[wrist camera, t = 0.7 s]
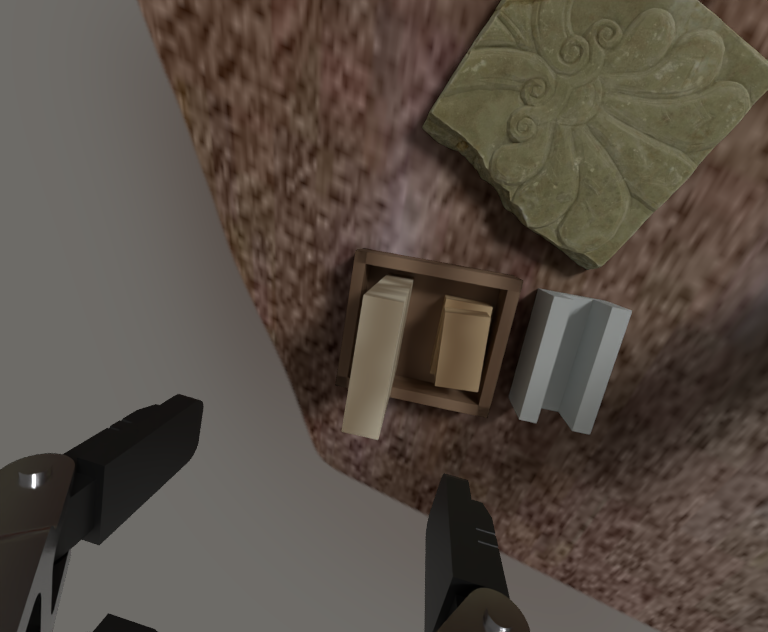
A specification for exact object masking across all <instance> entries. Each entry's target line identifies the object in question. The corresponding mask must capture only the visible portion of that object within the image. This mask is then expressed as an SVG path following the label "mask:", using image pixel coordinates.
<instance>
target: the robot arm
mask: <svg viewBox="0 0 768 632" xmlns="http://www.w3.org/2000/svg"><path fill="white" fill-rule="evenodd" d="M202 413H203V402H202V401H201V400H197V399H194V398H191V397H187V396H184V395H181V394H177V395H175V396H173V397H172V398H170V399H169V400H167V401H165V402H164V403H162V404H161V405H156V404H155V405H152V406H149V407H146V408H142V409H139V410H136V411H135V412H133V413H131V414H130V415H128V416H126V417H125V418H123V419H122V421H118V422H116V423H115V424H113V425H111V426H110V428H106V429H105V430H103V431H101V432H99V433H98V434H96V435H95V436H93V437H91V438H90V439H88V440H86V441H84V442H83V443H81V444H79V445H78V446H76V447H74V448H73V449H71V450H69V451H68V452H66V453H64V454H57V453H44V454H36V455H32V456H28V457H24V458H21V459H19V460H16V461H14V462H12V463H10V464H8V465H6V466H5V467H3V468H2V469H0V632H53V628H54V623H55V619H56V615H57V611H58V607H59V602H60V598H61V594H62V590H63V586H64V582H65V578H66V574H67V569H68V565H69V561H70V556H71V548H72V547H73V546H75V545H76V544H77V543H78V542H79V541H80V540H81V539H82V540H85V541H88V542H91V543H94V544H97V545H100V544H101V543H102V542H103V541H104V540H105V539H106V538H108V537H109V536H110V535H111V534H112V533H113V532H114V531H115V530H116V529H117V528H118V527H119V526H120V525H121V524H123V523H124V522H125V521H126V520H127V519H128V518H129V517H130V516H131V515H132V514H133V513H134V512H135V511H136V510H137V509H138V508H140V507H141V506H142V505H143V504H144V503H145V502H146V501H147V500H148V499H149V498H150V497H151V496H152V495H153V494H155V493H156V492H157V491H158V490H159V489H160V488H161V487H162V486H163V485H164V484H165V483H166V482H167V481H168V480H169V479H171V478H172V477H173V476H174V475H175V474H176V473H177V472H178V471H179V470H180V469H181V468H182V467H183V466H184V465H185V464H187V462H188V461H189V460H190V459H191V458H192V456H193V455H194V453H195V450H196V449H197V446H198V441H199V434H200V428H201V421H202ZM425 558H426V559H425V632H530V629H529V626H528V623H527V621H526V619H525V617H524V615H523V614H522V612H521V611H520V609H519V608H518V607H517V606H516V605H515V604H514V603H513V602H512V601H511V600H510V598H509V594H508V589H507V584H506V580H505V576H504V571H503V567H502V562H501V558H500V553H499V549H498V544H497V539H496V536H495V530H494V526H493V521H492V517H491V516H490V514H489V513H488V511H487V510H486V508H485V506H484V505H483V503H481V502H478V501H475V500H471V494H470V488H469V482H468V480H465V479H462V478H458V477H455V476H451V475H448V474H445V473H444V474H443V476H442V478H441V481H440V484H439V487H438V490H437V493H436V496H435V499H434V502H433V505H432V508H431V511H430V514H429V518H428V523H427V529H426V557H425ZM93 632H157V631H156V630H155V629H153V628H150V627H146V626H144V625H141V624H138V623H135V622H132V621H129V620H126V619H123V618H120V617H117V616H114V615H112V614H107V616H106V617H105V618H104V619H103V621H102V622H101V623H100V624H99V625H98V626H97V628H96V629H95V630H94V631H93Z"/></svg>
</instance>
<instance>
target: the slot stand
mask: <svg viewBox="0 0 768 632" xmlns="http://www.w3.org/2000/svg"><path fill="white" fill-rule="evenodd" d="M631 313H632V310H629V309H626V308H624V307H621V306H618V305H615V304H613V303H610V302H607V301H604V300H598V299H593V298H588V297H582V296H577V295H571V294H566V293H560V292H555V291H550V290H544V289H539V288H538V291H537V295H536V298H535V302H534V306H533V309H532V313H531V317H530V320H529V324H528V328H527V331H526V335H525V339H524V342H523V346H522V350H521V353H520V357H519V361H518V364H517V368H516V371H515V375H514V379H513V382H512V386H511V390H510V393H509V399H510V402H511V404H512V406H513V408H514V410H515V412H516V414H517V416H518V418H519V420H524V421H528V422H533V423H537V420H538V417H539V414H540V410H541V408H543V409H547V410H552V411H557V412H559V413H560V415H561V416H562V418H563V419H564V420H565V422H566V423H567V425H568V426H569V427H570V429H571V430H572V431H575V432H579V433H584V434H589V435H590V433H591V431H592V428H593V425H594V422H595V419H596V416H597V413H598V410H599V407H600V404H601V401H602V398H603V395H604V392H605V389H606V386H607V384H608V381H609V378H610V375H611V372H612V369H613V366H614V363H615V360H616V357H617V354H618V351H619V348H620V345H621V342H622V339H623V337H624V334H625V331H626V328H627V325H628V322H629V319H630V316H631Z"/></svg>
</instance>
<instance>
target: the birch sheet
mask: <svg viewBox="0 0 768 632" xmlns="http://www.w3.org/2000/svg"><path fill="white" fill-rule="evenodd" d="M413 281H414V278H413V277H408V276H403V275H397V274H392V273H388V274H387V275H386V276H385V277H383V278H382V279H381V280H380V281H379V282H378V283H377V284H375V285H374V286H373V287H372V288H371V289H370V290H369V291H367V292H366V293H365V294H364V295H363V301H362V308H361V314H360V320H359V326H358V332H357V339H356V345H355V351H354V357H353V364H352V370H351V376H350V382H349V388H348V395H347V401H346V407H345V413H344V420H343V426H342V432H345V433H350V434H354V435H359V436H363V437H367V438H372V439H376V440H378V439H379V435H380V431H381V427H382V423H383V420H384V416H385V412H386V408H387V404H388V400H389V396H390V393H391V389H392V385H393V381H394V377H395V373H396V370H397V365H398V360H399V354H400V349H401V344H402V339H403V334H404V328H405V323H406V318H407V313H408V307H409V302H410V297H411V292H412V287H413Z"/></svg>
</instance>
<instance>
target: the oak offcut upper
mask: <svg viewBox="0 0 768 632" xmlns="http://www.w3.org/2000/svg"><path fill="white" fill-rule="evenodd" d="M490 320H491V317H490V316H489V315H488V313H487V312H482V311H474V310H466V309H458V308H450V307H444V313H443V320H442V327H441V334H440V341H439V348H438V355H437V362H436V369H435V386H438V387H445V388H452V389H459V390H466V391H473V392H478V390H479V384H480V378H481V372H482V366H483V361H484V355H485V349H486V343H487V337H488V332H489V326H490Z"/></svg>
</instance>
